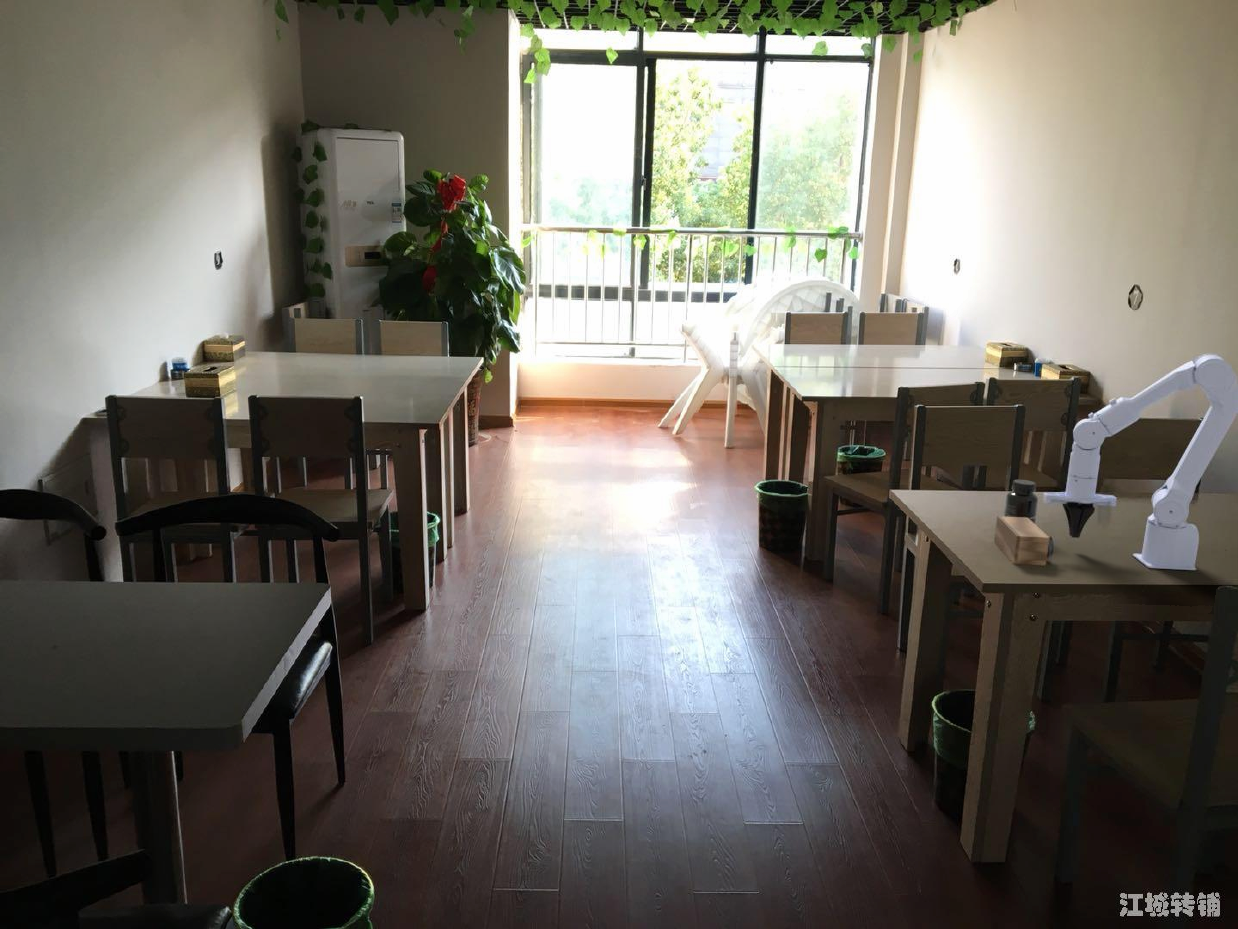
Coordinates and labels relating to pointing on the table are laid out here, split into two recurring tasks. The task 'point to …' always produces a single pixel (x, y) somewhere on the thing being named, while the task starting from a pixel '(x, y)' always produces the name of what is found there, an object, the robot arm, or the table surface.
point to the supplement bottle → (1022, 500)
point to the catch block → (1021, 540)
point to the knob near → (1050, 547)
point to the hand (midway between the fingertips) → (1074, 536)
